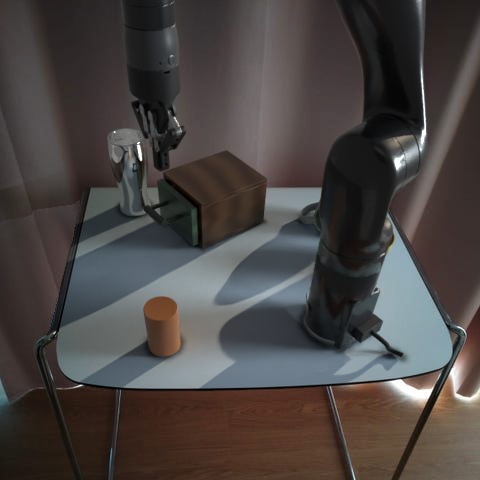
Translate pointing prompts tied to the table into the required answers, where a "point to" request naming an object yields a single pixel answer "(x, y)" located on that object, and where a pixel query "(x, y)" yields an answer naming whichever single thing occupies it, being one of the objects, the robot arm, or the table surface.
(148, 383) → the table surface
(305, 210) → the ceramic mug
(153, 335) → the orange cylinder
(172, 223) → the drawer
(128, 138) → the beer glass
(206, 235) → the cabinet
